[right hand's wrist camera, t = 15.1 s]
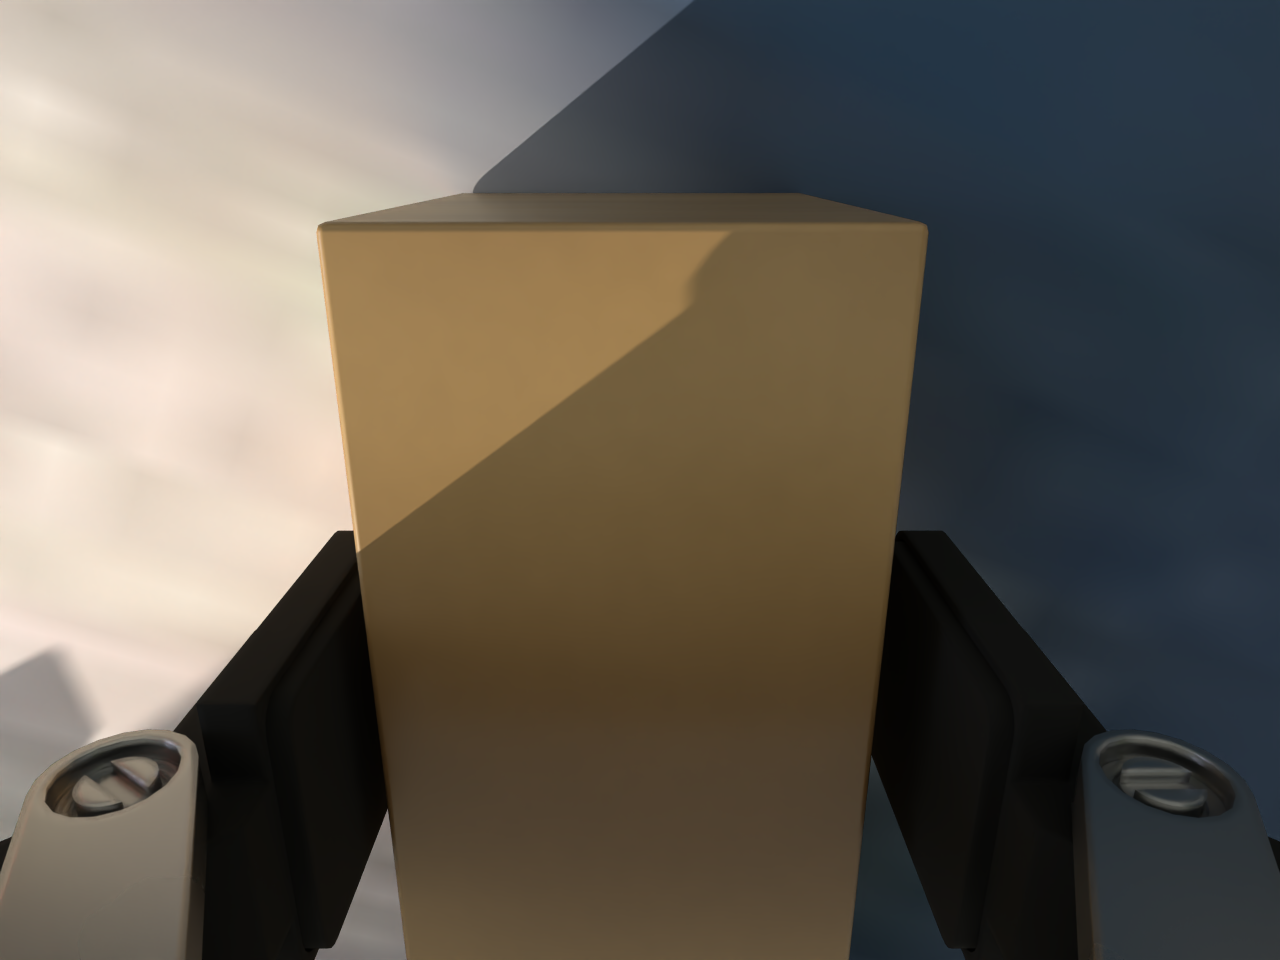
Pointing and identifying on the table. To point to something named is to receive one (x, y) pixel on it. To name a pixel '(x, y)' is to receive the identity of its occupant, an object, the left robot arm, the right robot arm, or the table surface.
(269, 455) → the table surface
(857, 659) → the bar
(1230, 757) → the table surface
